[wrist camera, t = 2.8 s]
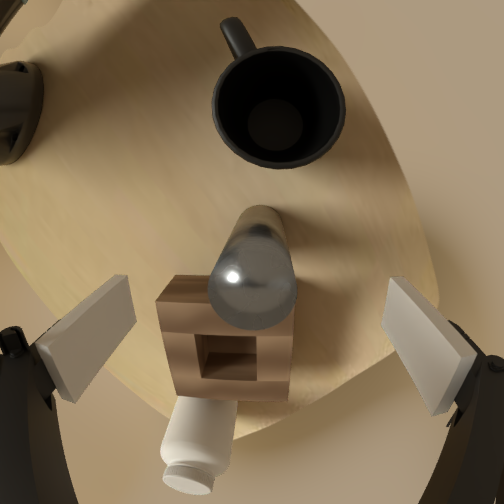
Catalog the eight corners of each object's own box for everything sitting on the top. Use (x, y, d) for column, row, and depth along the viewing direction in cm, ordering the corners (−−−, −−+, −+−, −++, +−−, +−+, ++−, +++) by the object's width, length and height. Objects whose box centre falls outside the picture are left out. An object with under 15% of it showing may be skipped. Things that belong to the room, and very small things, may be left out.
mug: (280, 42, 21) (286, -8, 12) (332, 149, 24) (366, 143, 15) (202, 73, 22) (171, 34, 13) (252, 181, 26) (243, 190, 16)
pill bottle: (171, 392, 35) (139, 477, 21) (202, 365, 33) (172, 464, 18) (216, 418, 36) (199, 502, 22) (250, 395, 34) (242, 491, 20)
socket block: (175, 275, 29) (155, 301, 23) (289, 276, 28) (295, 304, 23) (189, 362, 33) (176, 395, 27) (285, 366, 32) (287, 401, 26)
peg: (236, 205, 26) (204, 250, 13) (283, 205, 26) (299, 250, 13) (237, 249, 28) (211, 329, 14) (282, 249, 27) (294, 330, 14)
